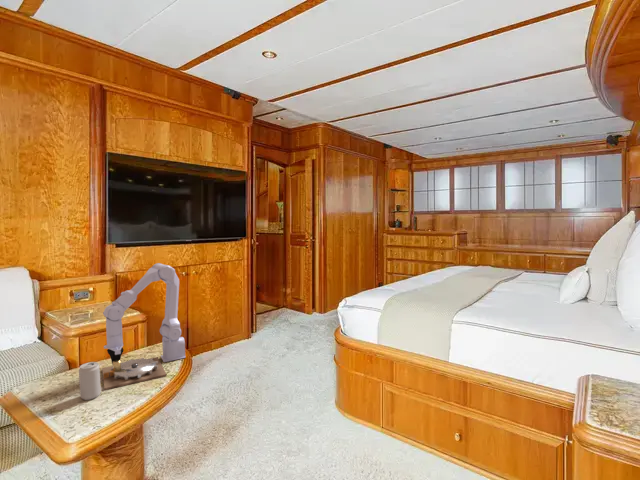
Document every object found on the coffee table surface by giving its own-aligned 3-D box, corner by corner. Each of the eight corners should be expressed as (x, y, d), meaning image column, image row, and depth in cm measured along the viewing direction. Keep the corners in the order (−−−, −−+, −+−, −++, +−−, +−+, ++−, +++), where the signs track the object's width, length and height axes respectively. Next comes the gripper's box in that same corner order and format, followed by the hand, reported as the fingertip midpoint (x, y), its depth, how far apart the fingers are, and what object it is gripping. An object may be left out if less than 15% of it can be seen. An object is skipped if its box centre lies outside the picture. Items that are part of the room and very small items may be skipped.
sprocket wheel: (152, 357, 167) (152, 345, 166) (163, 371, 152) (162, 358, 152) (107, 368, 156) (106, 355, 155) (113, 384, 141) (112, 370, 141)
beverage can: (104, 392, 137) (103, 361, 136) (92, 401, 131) (90, 369, 130) (88, 391, 138) (87, 360, 137) (76, 400, 132) (74, 368, 131)
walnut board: (157, 358, 168) (157, 353, 168) (166, 376, 151) (166, 370, 151) (102, 369, 157) (101, 364, 156) (104, 390, 139) (104, 384, 139)
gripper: (101, 331, 154) (102, 362, 155) (105, 341, 143) (107, 374, 144) (119, 327, 159) (121, 358, 160) (125, 337, 147) (127, 370, 148)
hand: (116, 365), depth 152 cm, fingers closed
